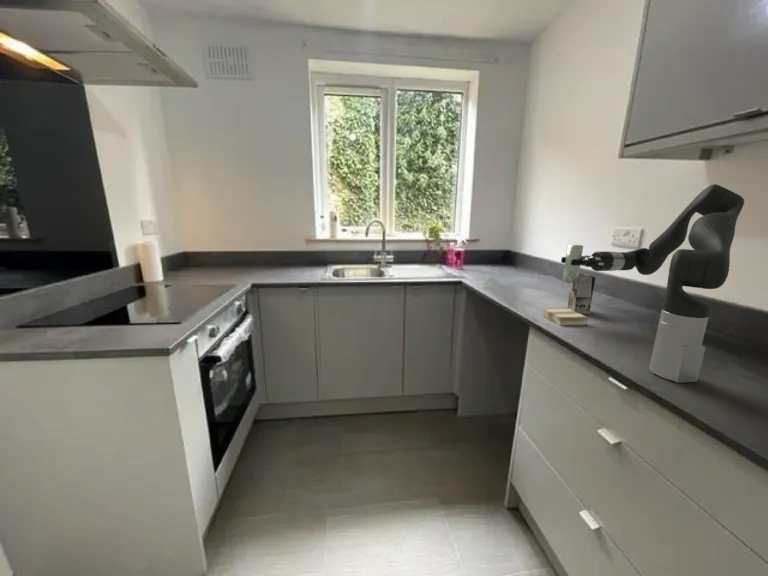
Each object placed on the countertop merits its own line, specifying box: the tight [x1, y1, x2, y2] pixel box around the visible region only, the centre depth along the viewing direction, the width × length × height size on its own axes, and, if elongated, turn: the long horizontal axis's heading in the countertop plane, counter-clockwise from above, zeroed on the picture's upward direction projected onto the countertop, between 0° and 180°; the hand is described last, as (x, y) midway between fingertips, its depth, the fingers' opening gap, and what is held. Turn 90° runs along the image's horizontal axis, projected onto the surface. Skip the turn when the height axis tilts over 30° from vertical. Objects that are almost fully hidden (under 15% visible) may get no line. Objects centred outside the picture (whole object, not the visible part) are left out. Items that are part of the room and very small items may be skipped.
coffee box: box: [567, 272, 596, 315], centre depth 149 cm, size 9×6×16 cm
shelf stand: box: [542, 308, 589, 326], centre depth 137 cm, size 11×11×3 cm
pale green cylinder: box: [562, 244, 584, 284], centre depth 132 cm, size 5×5×14 cm
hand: (566, 261), depth 132 cm, fingers closed on pale green cylinder, 5 cm apart
